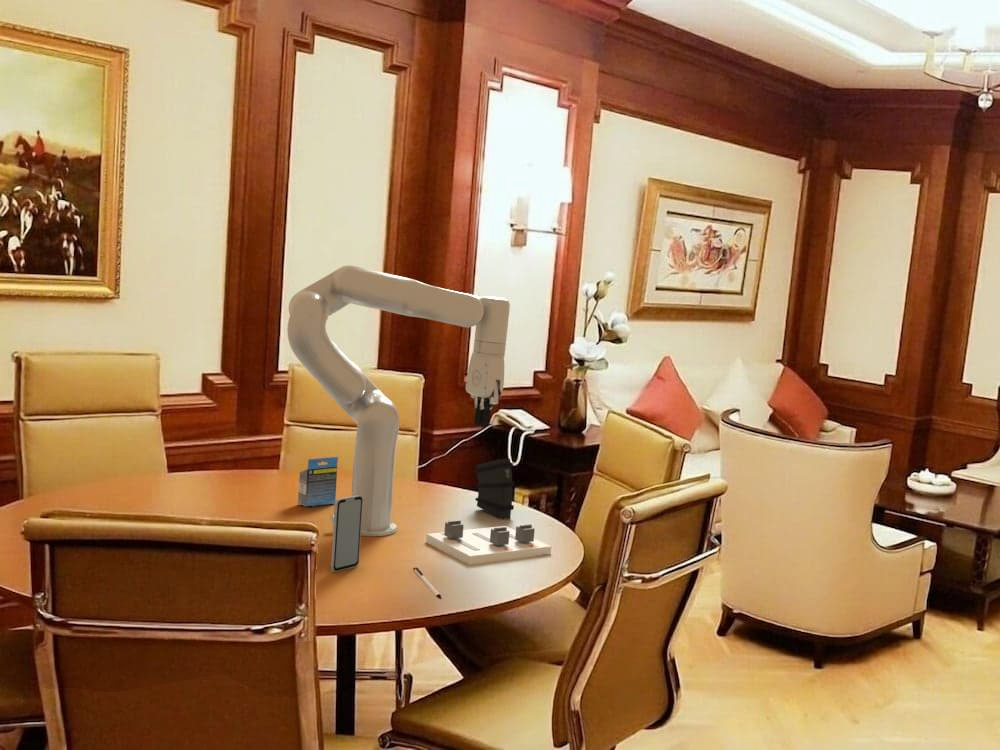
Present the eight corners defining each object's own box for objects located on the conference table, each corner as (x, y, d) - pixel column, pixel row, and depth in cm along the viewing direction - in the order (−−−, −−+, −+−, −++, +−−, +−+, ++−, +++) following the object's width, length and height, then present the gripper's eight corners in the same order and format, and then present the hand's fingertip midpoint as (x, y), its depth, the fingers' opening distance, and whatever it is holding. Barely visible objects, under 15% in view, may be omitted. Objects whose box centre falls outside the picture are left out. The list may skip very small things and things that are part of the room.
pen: (416, 570, 212) (416, 565, 212) (443, 601, 194) (443, 595, 194) (412, 570, 212) (412, 565, 211) (438, 601, 194) (439, 596, 194)
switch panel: (469, 565, 217) (470, 555, 217) (426, 542, 232) (426, 533, 232) (550, 554, 230) (551, 545, 230) (504, 533, 245) (505, 525, 244)
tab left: (451, 538, 228) (452, 523, 227) (444, 535, 230) (445, 519, 230) (462, 537, 230) (463, 522, 229) (455, 534, 232) (456, 518, 232)
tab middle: (497, 545, 225) (498, 529, 225) (489, 542, 228) (491, 526, 227) (508, 544, 227) (509, 528, 227) (500, 540, 229) (502, 525, 229)
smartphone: (332, 572, 205) (336, 499, 203) (329, 571, 205) (333, 498, 204) (358, 566, 211) (363, 495, 209) (355, 564, 211) (360, 494, 210)
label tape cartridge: (327, 500, 263) (330, 453, 261) (335, 504, 260) (338, 456, 258) (297, 504, 257) (300, 456, 255) (305, 507, 254) (308, 459, 253)
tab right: (522, 542, 229) (524, 527, 229) (515, 539, 232) (516, 523, 231) (533, 541, 231) (534, 526, 231) (525, 537, 234) (527, 522, 233)
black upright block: (508, 518, 254) (500, 458, 257) (477, 523, 264) (470, 466, 267) (520, 517, 257) (512, 458, 259) (489, 522, 267) (481, 465, 269)
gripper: (459, 344, 246) (452, 419, 248) (492, 352, 233) (484, 431, 235) (486, 346, 250) (478, 419, 252) (519, 353, 237) (511, 431, 239)
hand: (481, 425), depth 243 cm, fingers closed
